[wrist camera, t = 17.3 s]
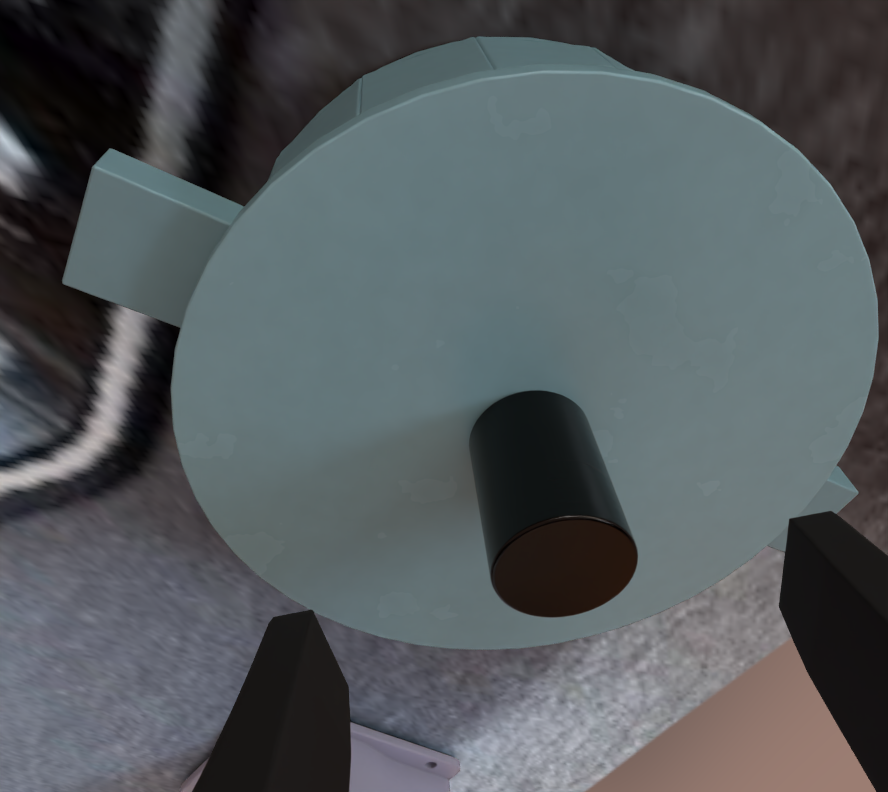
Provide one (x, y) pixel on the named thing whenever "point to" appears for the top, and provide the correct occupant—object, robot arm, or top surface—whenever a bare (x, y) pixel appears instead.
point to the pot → (209, 215)
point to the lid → (524, 357)
